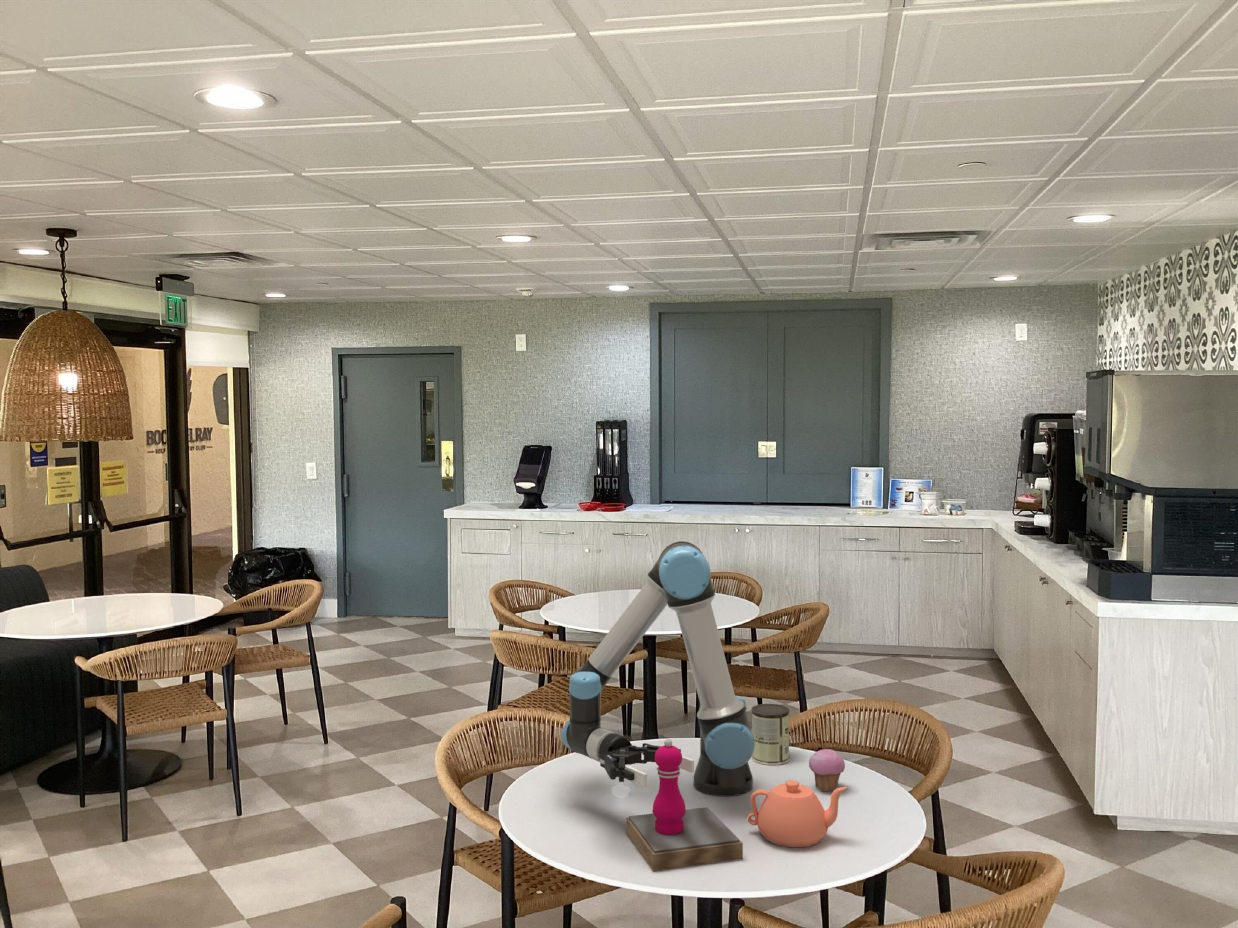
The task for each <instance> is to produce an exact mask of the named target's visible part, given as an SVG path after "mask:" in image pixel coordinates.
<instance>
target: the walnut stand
mask: <svg viewBox="0 0 1238 928" xmlns="http://www.w3.org/2000/svg"><path fill="white" fill-rule="evenodd" d="M685 809H686V808H685ZM656 819H657V818H656V817H655V816H654V814H653V813H646V814H645V813H644V814H638V815H630V816H629V815H628V817H626V818H625V834H626V835H627V836H628V838H629V840H630V841H631V842H632V843H633V845H634V846H635V848H636V849H637V851H638V852H639V854H640V855H641V856H642V857H643V859H644V860H645V862H646V863H647V865H648V866H649V868H650V869H651V870H652V871H653V872H657V871H658V870H659V871H665V870H671V869H680V868H688V867H694V866H695V867H696V866H702V865H708V864H716V863H723V862H731V861H738V860H739V861H740V860H743V856H744V853H743V852H744V846H743V845H744V842H743V841H742V840H741V839H740V838H739V837H738V836H737V835H736V834H735V833H734V832H733V831H732V830H731V829H730V828H729V826H727V825H726V824H725V823H724V822H723V821H722V820H721V819H720V818H719V817H718V815H716V814H715V813H714V812H713V811H712V810H711V809H710V807H708V806H705V807H695V808H688V809H686V812H685V815H684V816H683V817H682V820H683V821H684V829H683V831H682V832H681V833H678V834H674V835H665V834H661V833H658V832H657V831H656V830H655V820H656ZM659 871H658V872H659Z"/></svg>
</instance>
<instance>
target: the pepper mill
mask: <svg viewBox="0 0 1238 928" xmlns="http://www.w3.org/2000/svg"><path fill="white" fill-rule="evenodd" d="M663 743H664V745H661V747H660V748H658V749H657V751H656V753H655V762H654V763H655V764H656V765H657V768H656V770H657V772H656V774H657V776H658V778H659V779H658V780H659V787H658V791H657V794H656V796H655V798H654V800H653V804H652V814H654V816H655V817H656V818H657V819H656V820H655V830H656V831H657V832H658V833H661V834H665V835H674V834H678V833H681V832H682V831H683V829H684V821H683V820H682V817H683V816H684V815H685V812H686V804H685V800H684V798H683V796H682V793H681V791H680V788H679V782H678V781H679V776H680V775H681V768H679V765H680V764H681V762H682V756H683V755H682V751H681V752H680V750H679V749H680V748H679V747H677V746H675V745H673V740H672V739H670V738H666V739H665V740H664V741H663Z"/></svg>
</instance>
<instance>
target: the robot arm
mask: <svg viewBox="0 0 1238 928" xmlns="http://www.w3.org/2000/svg"><path fill="white" fill-rule="evenodd" d="M646 579H647V581H646V583H645V584H644V585H643V587H642V588H641V589H640V591H639V592H638V593H637V594H636V596H635V597H634V599H633V600H632V601H631V602H630V604H629V605H628V606H627V608H626V609H625V610H624V612H622V614H621V615H620V616H619V618H618V619H617V620H616V622H615V623H614V624H613V625H612V627H611V628H610V630H609V631H608V632H607V633H606V635H605V637H604V638H603V639H602V640H601V641H600V643H599V644H598V645H597V646H596V648H594V650H593V652H592V653H591V655H590V656H589V657H588V659H587V660H586V661H585V662H584V663H583V665H582V666H580V667H579V668H578V669H577V671H576V672H574V673H573V674H571V675H570V676H569V677H570V678H569V685H568V686H569V687H568V692H569V720H567V721H566V722H565V723H564V725H563V728H562V731H561V735H560V736H561V741H562V744H563V745H564V746H565V747H566V748H567V749H569V750H571V751H573V752H574V753H576V754H579V755H582V756H585V757H587V758H589V759H591V760H594V761H596V762H598V763H600V767H601V768H604V770H605V772H606V774H607V775H608V777H609V779H610V780H612V781H614V780H616V779H617V778H618V782H620V783H624V782H625V780H626V781H630V782H632V783H634V784H636V785H637V786H638V785H639V786H641V787H643V788H646V787H647V788H648V773H646V772H643V771H641V770H639V769H637V768H634V767H632V766H631V765H637V764H642V765H643V764H644V765H646V764H647V763H648V762H649V763H655V753H656V751H657V749H658V748H660V747H661V746H662V745H661V746H660V745H653V744H649V743H647V742H644V743H642V746H637V745H633V744H632V743H631V741H630V740H629V739H628V737H626V736H624V735H622V734H618V733H616V732H614V731H611V730H609V729H605V728H603V727H601V723H602V722H601V721H602V719H601V718H602V717H601V705H602V698H601V696H602V690H603V689H604V688H605V687H606V685H607V684H608V682H609V681H610V680H611V678H612V677H613V675H614V674H615V673H616V671H617V670H618V669H619V667H621V665H622V664H623V663H624V661H625V660H626V658H627V657H628V656H629V655H630V653H631V652H632V651H633V650H634V648H635V647H636V646H637V644H638V643H639V642H640V641H641V639H642V638H643V637H644V635H645V634H646V633H647V632H648V630H649V629H650V627H652V625H653V624H654V622H656V620H657V619H658V617H659V616H660V615H661V614H662V612H664V610H665V609H666V608H667V606H668V609H671V610H673V611H675V613H676V616H677V619H678V623H679V627H680V632H681V635H682V638H683V642H684V647H685V650H686V654H687V658H688V662H689V665H690V669H691V670H690V671H691V674H692V677H693V680H694V681H693V682H694V685H695V689H696V692H697V693H696V694H697V695H698V696H697V697H698V701H699V707H698V708H699V709H698V711H697V713H696V718H697V721H698V724H699V730H700V731H699V732H700V733H699V736H700V739H699V743H700V744H699V746H700V747H699V748H700V750H699V753H700V755H699V758H698V762H697V763H696V767H695V760H694V759H692V758H689V757H687V756H684V755H682V762H681V764H680V765H679V768H680V770H683V771H686V772H687V773H688V772H689V773H691V774H692V773H693V787H694V788H695V790H697V791H699V792H701V793H703V794H706V795H710V796H717V797H734V796H735V797H736V796H739V795H740V796H741V795H744V794H746V793H749V792H751V790H752V789H753V787H754V779H753V777H754V776H753V773H752V771H751V768H750V765H749V761H750V760H751V759H752V755H753V752H754V746H755V740H754V736H753V734H752V728H751V727H750V722H749V719H748V715H747V712H746V711H747V704H746V703H747V701H746V699H745V698H744V697H742V696H739V695H735V691H734V690H735V689H734V686H733V683H732V680H731V675H730V671H729V667H728V664H727V659H726V656H725V655H726V654H725V653H724V648H723V645H722V642H721V641H722V640H721V637H720V633H719V629H718V626H717V621H716V618H715V614H714V610H713V607H712V601H713V600H714V598H715V596H716V594H715V589H714V586H713V582H712V577H711V569H710V564H709V562H708V560H707V558H706V556H705V555H704V554H703V551H702V550H701V549H700V548H699V547H698V546H696V545H695V544H693V543H692V542H688V541H683V540H682V541H674V542H672V543H671V544H669V545H667V546H666V547H665V548H664V549H663V550H662V552H661V553H660V554H659V556H658V559H657V561H656V562H655V564H654V565H653V567H652V568H651V569H650V570H649V572H648V573H647V575H646ZM678 749H679V750H680V752H681V753H682V749H681V748H678ZM642 755H643V759H642Z"/></svg>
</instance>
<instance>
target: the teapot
mask: <svg viewBox="0 0 1238 928" xmlns="http://www.w3.org/2000/svg"><path fill="white" fill-rule="evenodd" d="M847 788H848V786H841V787H838V788H836V789H835V790H834V791H832V793H831V795H830V803H829V806H828V808H827V809H826V810H825V809H824V807H823V804H822V802H821V801H820V799H819V798H818V796H817V794H816V792H815V791H814V790H812V789H811V788H810V787H808V786H806V785H803V784H800V782H799V781H798V780H797V781H796V780H793V779H792V780H790V779H789V780H786V781H785V783H781V784H777V785H774V786H773V787H772V788H771V789H770V790H766V789H763V788H761V789H757V790H755V791H754V792H753V793H751V796H750V805H751V809H752V812H751V813H749V814H748V815H747V822H748V824H749V825H751V826H757V828H758V830H759V832H760V833H761V835H762V836H763V837H764V838H765V839H766V840H767V841H769V842H770V843H773V844H776V845H778V846H782V847H783V846H784V847H789V848H805V847H810V846H814V845H816V844H818V843H819V842H820V841H821V840H822V839H823V838H824V837H825V836H826V835H827V833H828V829H829V828H830V827H831V826H833V824H834V823H835V822H836V821H837V817H838V814H839V812H838V811H839V800H840V796H841V794H842V793H843V792H844V791H845V790H846V789H847ZM759 795H762V796H765V798H764V800H763V801H762V803H761V805H760V807H759V810H758V807H757V802H756V798H757V796H759ZM752 817H754V819H752Z"/></svg>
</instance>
